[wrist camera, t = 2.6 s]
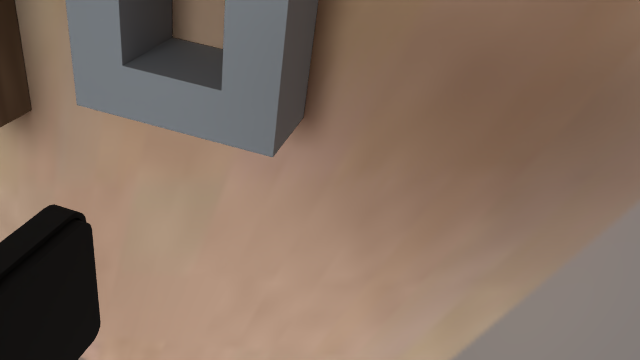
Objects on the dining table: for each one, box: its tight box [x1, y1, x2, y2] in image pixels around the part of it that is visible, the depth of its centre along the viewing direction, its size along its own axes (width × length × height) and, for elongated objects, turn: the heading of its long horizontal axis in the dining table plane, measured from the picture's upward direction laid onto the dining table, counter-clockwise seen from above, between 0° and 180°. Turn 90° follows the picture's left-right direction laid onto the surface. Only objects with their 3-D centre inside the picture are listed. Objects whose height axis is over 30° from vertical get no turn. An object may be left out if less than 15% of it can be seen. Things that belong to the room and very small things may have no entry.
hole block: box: [66, 0, 318, 157], centre depth 26 cm, size 10×10×4 cm
